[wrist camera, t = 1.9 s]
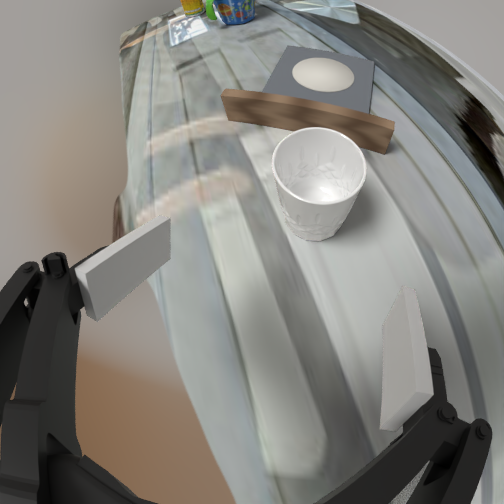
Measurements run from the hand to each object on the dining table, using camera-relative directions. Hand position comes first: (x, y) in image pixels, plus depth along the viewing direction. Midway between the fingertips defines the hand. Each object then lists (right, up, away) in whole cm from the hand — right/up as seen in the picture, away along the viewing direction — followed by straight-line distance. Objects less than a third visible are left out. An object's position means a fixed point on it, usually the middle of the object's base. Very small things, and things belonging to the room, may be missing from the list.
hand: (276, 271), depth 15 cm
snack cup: (-4, +55, +34) cm, 65 cm away
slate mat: (+10, +29, +23) cm, 39 cm away
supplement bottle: (-16, +64, +39) cm, 77 cm away
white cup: (+6, +5, +17) cm, 18 cm away
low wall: (+6, +17, +20) cm, 27 cm away
